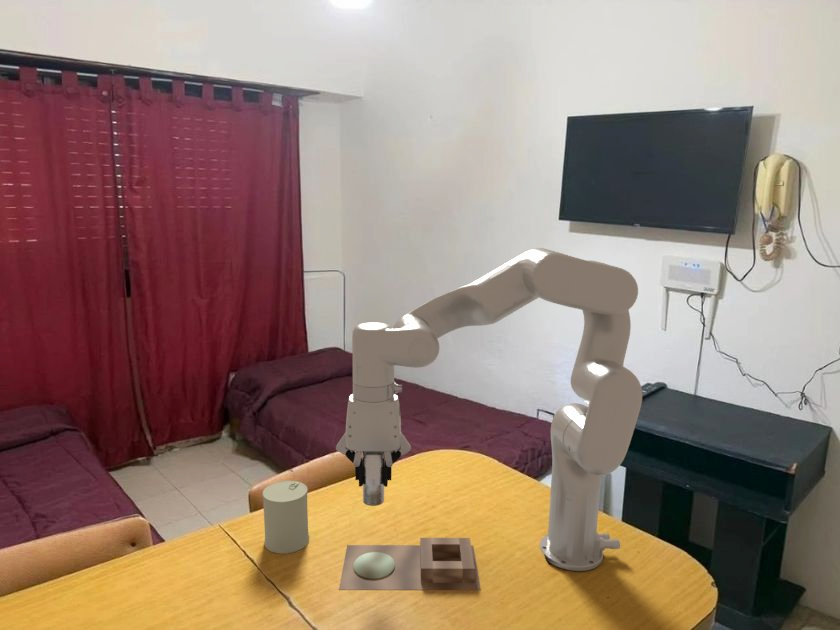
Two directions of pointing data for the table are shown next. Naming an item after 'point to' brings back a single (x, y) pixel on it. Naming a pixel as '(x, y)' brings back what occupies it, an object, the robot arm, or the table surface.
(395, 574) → the pocket board
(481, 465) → the table surface
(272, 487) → the can
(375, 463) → the peg
